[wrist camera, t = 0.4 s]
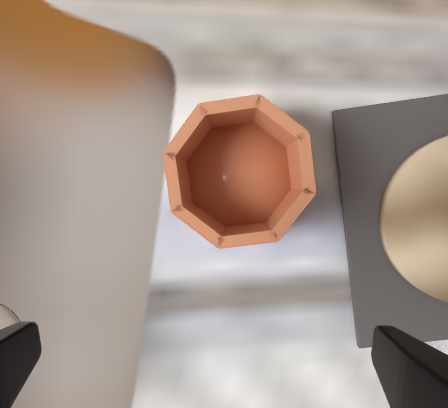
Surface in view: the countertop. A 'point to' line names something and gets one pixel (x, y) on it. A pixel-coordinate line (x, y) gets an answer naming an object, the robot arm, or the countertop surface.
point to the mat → (369, 210)
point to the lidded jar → (7, 317)
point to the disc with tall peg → (418, 219)
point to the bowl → (239, 171)
